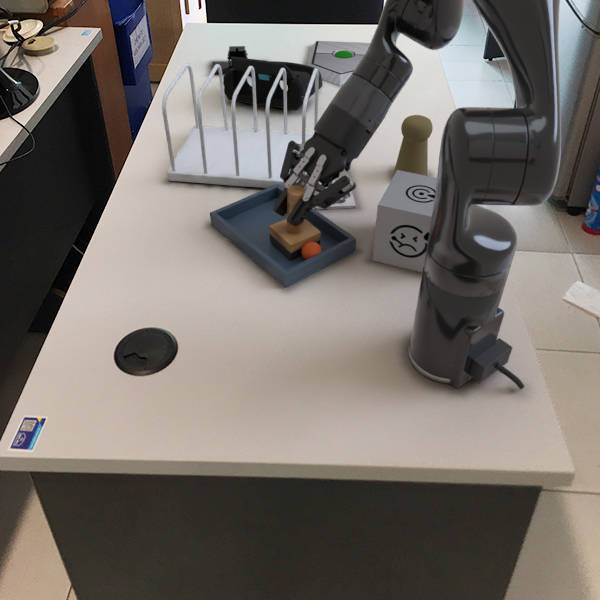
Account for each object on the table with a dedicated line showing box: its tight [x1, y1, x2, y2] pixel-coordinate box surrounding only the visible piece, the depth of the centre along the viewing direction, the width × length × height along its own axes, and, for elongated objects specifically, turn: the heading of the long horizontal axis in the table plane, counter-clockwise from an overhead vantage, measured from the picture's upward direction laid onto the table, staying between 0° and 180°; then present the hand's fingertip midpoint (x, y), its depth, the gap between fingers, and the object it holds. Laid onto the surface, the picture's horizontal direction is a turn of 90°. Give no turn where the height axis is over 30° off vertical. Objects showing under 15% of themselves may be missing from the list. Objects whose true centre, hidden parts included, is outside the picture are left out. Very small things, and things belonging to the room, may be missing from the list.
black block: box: [210, 45, 265, 76], centre depth 146 cm, size 12×7×5 cm, turn 93°
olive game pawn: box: [393, 114, 433, 177], centre depth 108 cm, size 6×6×11 cm
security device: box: [305, 40, 371, 87], centre depth 147 cm, size 17×22×2 cm
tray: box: [209, 184, 357, 288], centre depth 98 cm, size 20×14×2 cm
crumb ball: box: [301, 241, 322, 260], centre depth 93 cm, size 3×3×3 cm
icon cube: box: [371, 170, 437, 274], centre depth 93 cm, size 10×10×10 cm
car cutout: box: [315, 180, 357, 211], centre depth 109 cm, size 15×7×4 cm, turn 5°
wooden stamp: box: [269, 185, 321, 260], centre depth 93 cm, size 6×6×10 cm
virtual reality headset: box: [223, 56, 323, 111], centre depth 134 cm, size 19×22×10 cm
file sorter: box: [161, 63, 319, 190], centre depth 110 cm, size 25×17×16 cm
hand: (285, 218), depth 92 cm, fingers closed on wooden stamp, 2 cm apart
